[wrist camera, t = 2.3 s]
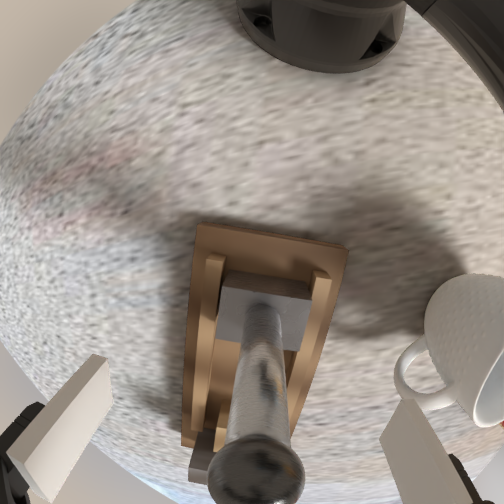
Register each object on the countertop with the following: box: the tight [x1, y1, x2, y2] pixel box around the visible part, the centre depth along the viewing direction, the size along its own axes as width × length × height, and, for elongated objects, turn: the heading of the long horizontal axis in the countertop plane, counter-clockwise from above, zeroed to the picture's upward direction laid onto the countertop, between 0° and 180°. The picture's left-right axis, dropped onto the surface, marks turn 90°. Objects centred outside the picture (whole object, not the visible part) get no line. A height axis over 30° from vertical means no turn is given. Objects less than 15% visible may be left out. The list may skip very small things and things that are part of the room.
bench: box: [181, 222, 349, 485], centre depth 23 cm, size 26×12×8 cm, turn 171°
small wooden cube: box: [213, 399, 231, 452], centre depth 25 cm, size 4×4×4 cm
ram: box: [207, 269, 313, 504], centre depth 15 cm, size 4×6×18 cm, turn 81°
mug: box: [394, 273, 504, 427], centre depth 19 cm, size 15×11×13 cm
